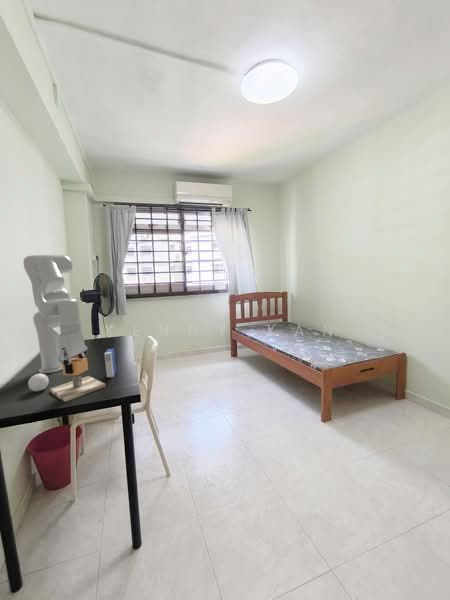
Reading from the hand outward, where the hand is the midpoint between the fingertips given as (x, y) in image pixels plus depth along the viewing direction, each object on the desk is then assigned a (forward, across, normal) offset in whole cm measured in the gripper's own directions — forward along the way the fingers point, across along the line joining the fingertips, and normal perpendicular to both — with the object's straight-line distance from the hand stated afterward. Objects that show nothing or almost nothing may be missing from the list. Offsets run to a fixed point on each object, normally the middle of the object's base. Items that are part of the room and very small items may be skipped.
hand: (75, 369), depth 113 cm
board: (+9, 0, 0) cm, 9 cm away
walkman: (+9, -17, +5) cm, 20 cm away
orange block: (+1, 0, 0) cm, 1 cm away
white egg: (+9, +3, -17) cm, 19 cm away
